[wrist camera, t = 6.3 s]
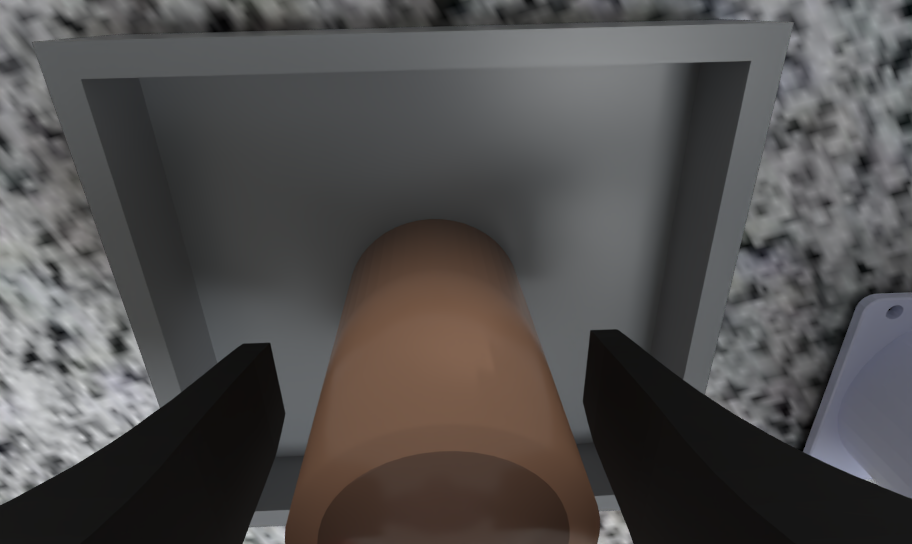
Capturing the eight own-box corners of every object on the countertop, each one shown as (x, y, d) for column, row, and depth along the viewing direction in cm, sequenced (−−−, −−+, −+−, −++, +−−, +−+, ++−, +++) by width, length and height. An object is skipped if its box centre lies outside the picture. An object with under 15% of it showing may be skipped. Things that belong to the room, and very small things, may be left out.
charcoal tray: (721, 19, 13) (793, 22, 11) (644, 439, 20) (677, 507, 17) (115, 34, 13) (32, 41, 10) (235, 456, 19) (202, 529, 17)
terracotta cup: (521, 214, 15) (617, 415, 7) (517, 362, 17) (587, 628, 10) (338, 223, 14) (254, 439, 7) (358, 372, 17) (310, 649, 9)
